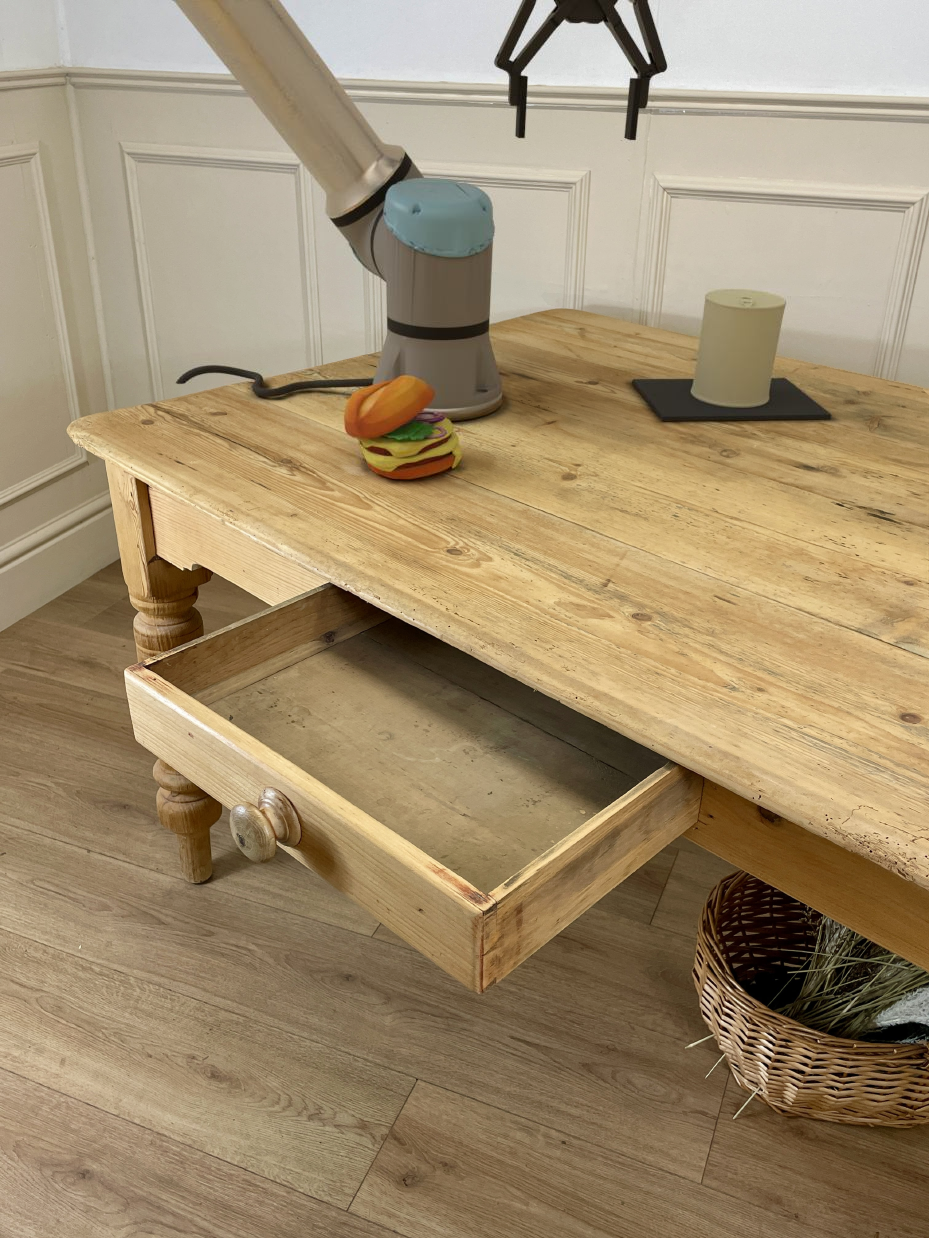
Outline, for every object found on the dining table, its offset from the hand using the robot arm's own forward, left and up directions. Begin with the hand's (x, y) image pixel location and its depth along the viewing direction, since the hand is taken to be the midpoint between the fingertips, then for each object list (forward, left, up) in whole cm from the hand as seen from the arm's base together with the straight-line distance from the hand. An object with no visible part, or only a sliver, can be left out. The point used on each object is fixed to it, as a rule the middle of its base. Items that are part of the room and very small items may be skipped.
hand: (575, 138), depth 121 cm
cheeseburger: (-23, -38, -27) cm, 52 cm away
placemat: (+17, -19, -27) cm, 37 cm away
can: (+17, -19, -26) cm, 37 cm away
